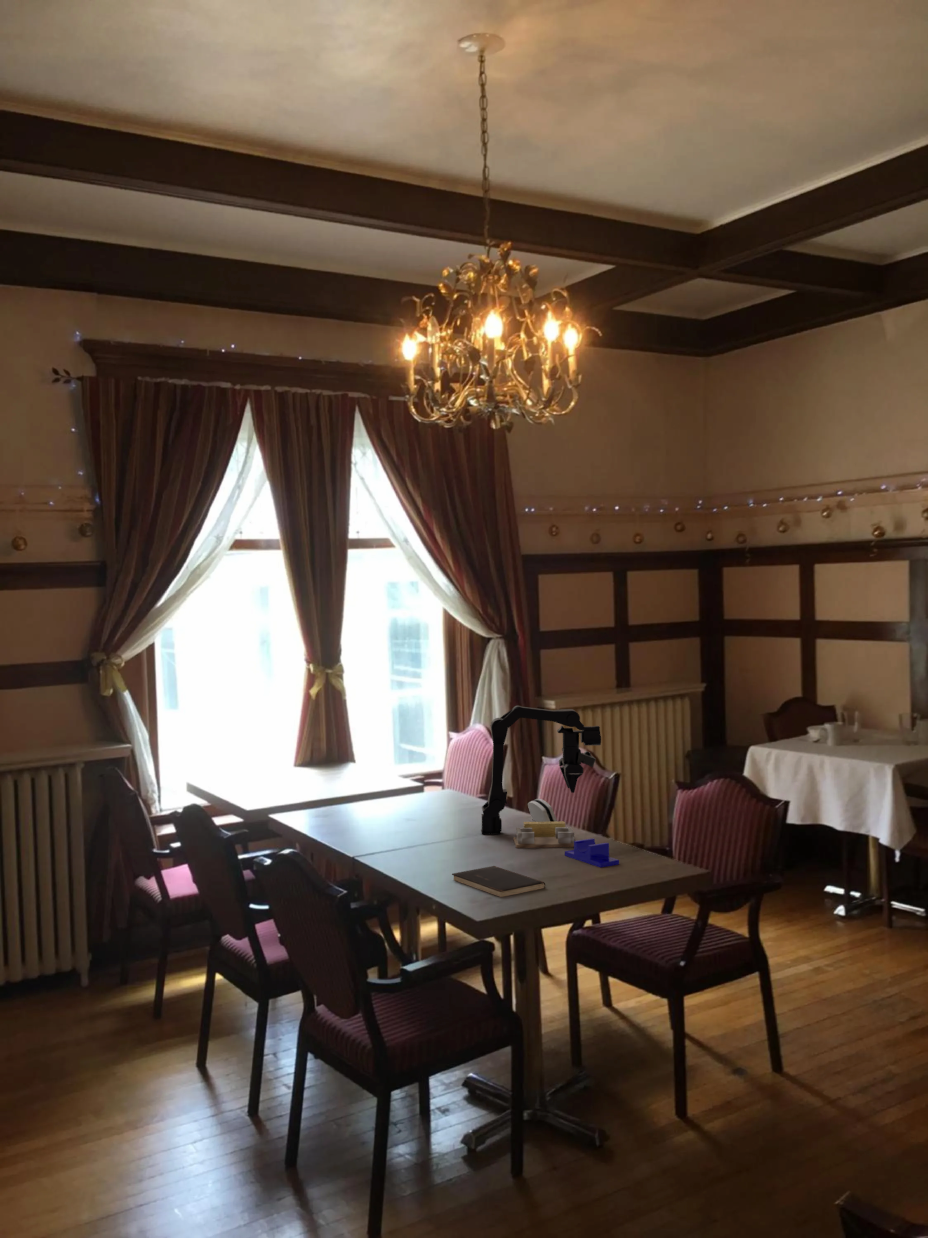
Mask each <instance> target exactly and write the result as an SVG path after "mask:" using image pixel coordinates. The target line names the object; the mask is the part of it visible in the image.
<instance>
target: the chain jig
mask: <svg viewBox="0 0 928 1238" xmlns="http://www.w3.org/2000/svg"><path fill="white" fill-rule="evenodd" d="M515 834H516V837H513V843H514V845H515V848H516V849H528V848H534V849H537V848H538V849H539V848H547V849H548V848H574V841H576V840H575V831H574V830H573V828H572V827H571V826H565V827H555V837H534V832H532V828H524V827H516V828H515Z"/></svg>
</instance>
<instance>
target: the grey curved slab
mask: <svg viewBox="0 0 928 1238" xmlns="http://www.w3.org/2000/svg"><path fill="white" fill-rule="evenodd" d="M527 807H528V810H529V811H528V812H529V814H530V817H531V820H532V819H533V820H532V821H534V820H535V821H534V822H536V821H537V822H552V821H558V819H557V817H556V814H555V813H554V810H553V807H552V806H551V805H550V804H549V802H547V801H545V800H544V799H541V798H536V799H534V800H531V801H529V802H528V803H527Z"/></svg>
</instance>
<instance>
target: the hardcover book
mask: <svg viewBox="0 0 928 1238" xmlns="http://www.w3.org/2000/svg"><path fill="white" fill-rule="evenodd" d="M451 875H452V876H453V881H455V882H458V883H462V884H463V885H467V886H470V887H472V888H475V889H477V890H480V891H484V892H486V893H489V894H492V895H494V896H498V897H500V898H504V897H509V896H512V895H517V894H522V893H526V892H527V893H528V892H533V891H536V890H541V889H546V883H545V882H544V881H541V880H540V879H536V878H533V877H529V876H527V875H523V874H520V873H517V872H513V871H511V870H508V869H505V868H501V867H499V866H497V865H491V866H486V867H480V868H476V869H469V870H465V871H459V872H454V873H452V874H451Z"/></svg>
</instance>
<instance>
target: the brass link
mask: <svg viewBox="0 0 928 1238" xmlns="http://www.w3.org/2000/svg"><path fill="white" fill-rule="evenodd" d="M555 827H566V822H565V821H559V820H557V821H552V822H536V821H523V828H532V832H534V837H555Z"/></svg>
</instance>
